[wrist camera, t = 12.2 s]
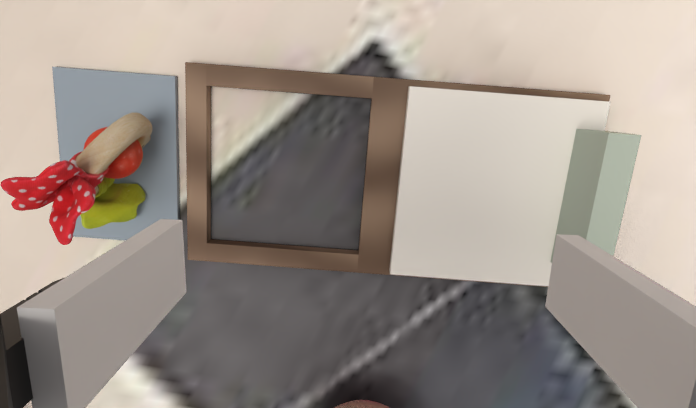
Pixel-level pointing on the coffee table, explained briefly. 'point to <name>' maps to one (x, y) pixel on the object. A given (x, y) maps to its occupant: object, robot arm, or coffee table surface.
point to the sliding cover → (505, 183)
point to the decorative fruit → (361, 404)
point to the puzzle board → (378, 171)
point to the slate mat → (104, 109)
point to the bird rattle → (89, 180)
